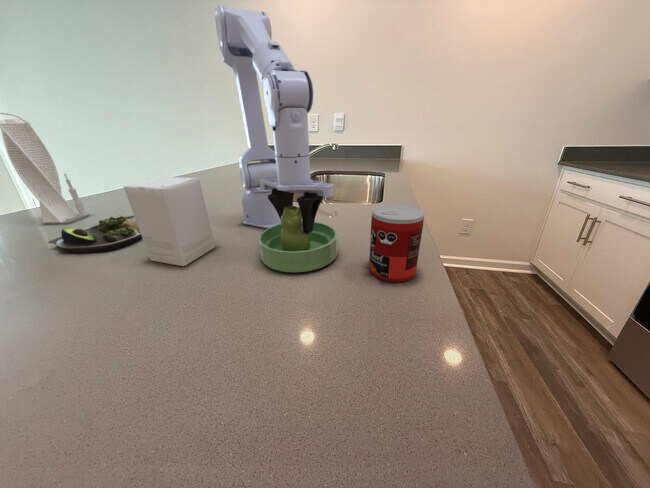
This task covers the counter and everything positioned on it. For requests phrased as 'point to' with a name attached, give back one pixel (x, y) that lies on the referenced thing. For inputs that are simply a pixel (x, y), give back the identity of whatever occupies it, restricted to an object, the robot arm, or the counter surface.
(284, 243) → the pear
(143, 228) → the white product box
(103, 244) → the salad plate
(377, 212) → the canned food
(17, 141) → the skyscraper
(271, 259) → the bowl
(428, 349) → the counter surface
